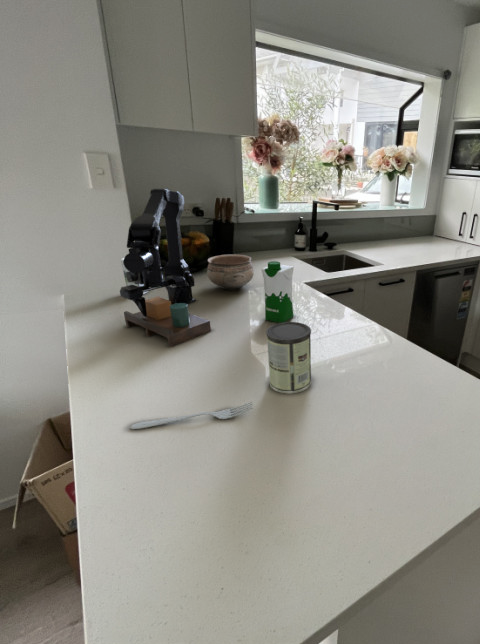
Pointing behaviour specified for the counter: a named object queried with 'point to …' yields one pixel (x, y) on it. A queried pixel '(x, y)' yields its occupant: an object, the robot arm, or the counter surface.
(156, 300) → the kraft box
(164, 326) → the shelf
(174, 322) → the tea tin
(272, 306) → the milk carton
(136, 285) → the syrup box
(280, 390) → the coffee can
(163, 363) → the counter surface
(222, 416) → the fork
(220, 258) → the cooking pot
